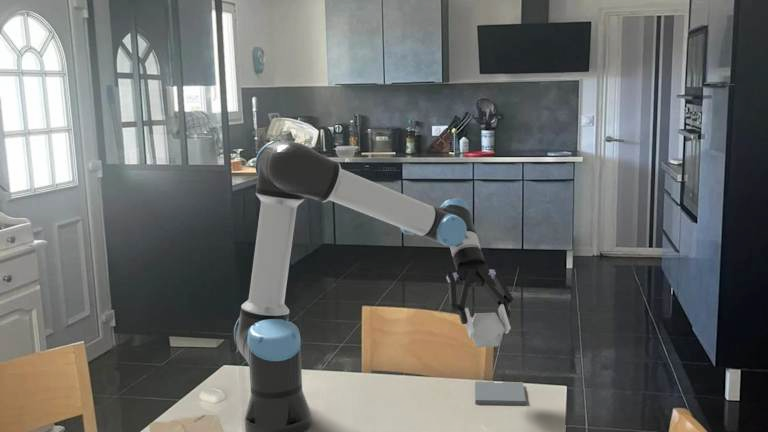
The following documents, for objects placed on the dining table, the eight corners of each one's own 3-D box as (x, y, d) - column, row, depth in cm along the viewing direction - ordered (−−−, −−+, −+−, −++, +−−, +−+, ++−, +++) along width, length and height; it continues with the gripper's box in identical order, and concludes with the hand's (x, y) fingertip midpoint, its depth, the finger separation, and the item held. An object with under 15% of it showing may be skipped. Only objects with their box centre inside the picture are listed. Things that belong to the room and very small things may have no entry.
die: (495, 356, 184) (514, 320, 186) (463, 338, 185) (481, 302, 186) (490, 356, 192) (508, 321, 194) (459, 339, 193) (477, 305, 194)
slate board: (475, 403, 188) (475, 399, 188) (475, 385, 200) (475, 381, 200) (525, 404, 187) (525, 400, 186) (522, 385, 198) (522, 382, 198)
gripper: (429, 248, 193) (450, 330, 181) (509, 241, 198) (535, 320, 185) (424, 264, 199) (444, 344, 187) (502, 257, 204) (527, 335, 191)
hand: (489, 332), depth 186 cm, fingers closed on die, 8 cm apart
